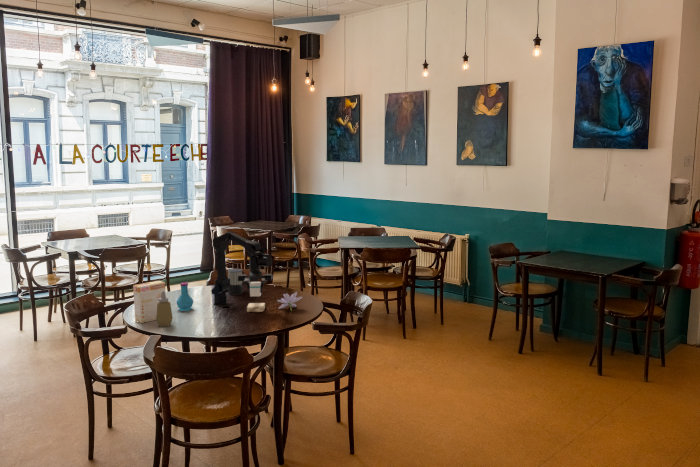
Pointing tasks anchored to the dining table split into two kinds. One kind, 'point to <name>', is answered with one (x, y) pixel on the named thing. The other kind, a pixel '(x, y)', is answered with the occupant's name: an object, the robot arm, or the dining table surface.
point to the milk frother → (235, 282)
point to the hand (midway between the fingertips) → (255, 292)
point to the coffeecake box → (147, 300)
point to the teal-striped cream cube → (255, 288)
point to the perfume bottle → (184, 298)
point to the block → (255, 307)
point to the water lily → (289, 300)
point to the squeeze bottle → (164, 311)
